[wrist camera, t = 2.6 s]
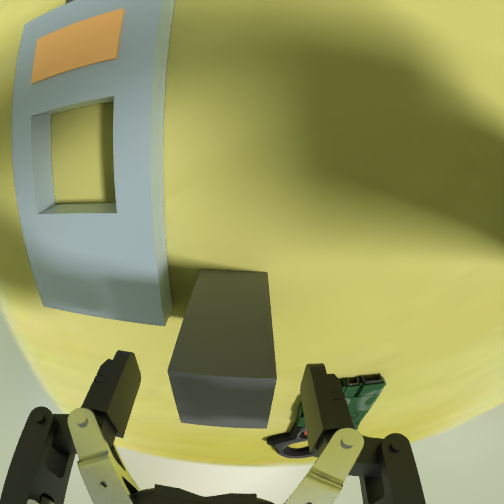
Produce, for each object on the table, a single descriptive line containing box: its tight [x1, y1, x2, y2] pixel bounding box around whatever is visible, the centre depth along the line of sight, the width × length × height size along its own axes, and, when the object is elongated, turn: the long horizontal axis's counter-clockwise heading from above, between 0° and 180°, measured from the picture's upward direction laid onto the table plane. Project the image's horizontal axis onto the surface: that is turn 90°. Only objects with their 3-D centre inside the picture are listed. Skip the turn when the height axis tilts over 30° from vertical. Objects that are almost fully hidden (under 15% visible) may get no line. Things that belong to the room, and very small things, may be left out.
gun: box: [267, 373, 386, 458], centre depth 24 cm, size 16×2×10 cm
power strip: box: [12, 0, 175, 326], centre depth 10 cm, size 10×33×2 cm, turn 177°
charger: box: [168, 269, 277, 428], centre depth 14 cm, size 4×4×8 cm
